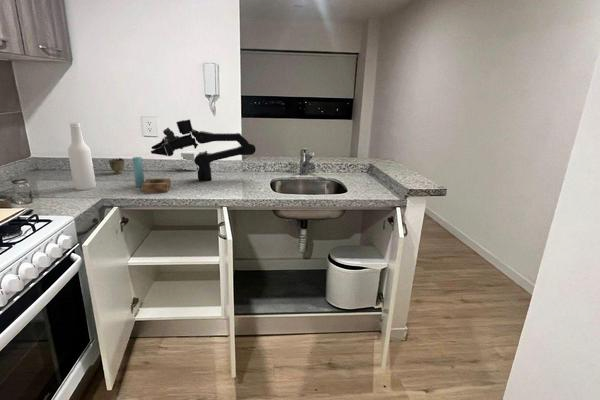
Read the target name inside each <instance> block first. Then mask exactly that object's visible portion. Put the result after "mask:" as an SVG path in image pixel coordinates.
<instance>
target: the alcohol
mask: <svg viewBox="0 0 600 400" xmlns="http://www.w3.org/2000/svg"><path fill="white" fill-rule="evenodd" d="M69 127H70V136H71V137H70V138H71V139H70V140H71V143H70V145H69V147H68V148H67V154H68V161H69V166H70V172H71V179H72V183H73V184H72V185H73V188H74V189H75V190H76V191H88V190H93V189H95V188H96V186H97V184H96V178H95V177H96V176H95V171H94V165H93V158H92V152H91V149H90V146H88V145H87V143H86V142H85V141H84V137H83V132H82V126H81V123H80V122H70V123H69Z"/></svg>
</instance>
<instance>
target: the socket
mask: <svg viewBox="0 0 600 400" xmlns="http://www.w3.org/2000/svg"><path fill="white" fill-rule="evenodd" d="M171 183H172V182H171V178H146V179H144V183H143V184H142V187H141V189H142V193H143V194H153V193H154V194H155V193H156V194H157V193H168V192H169V190H170V188H171V187H172V186H171V185H172V184H171Z"/></svg>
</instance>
